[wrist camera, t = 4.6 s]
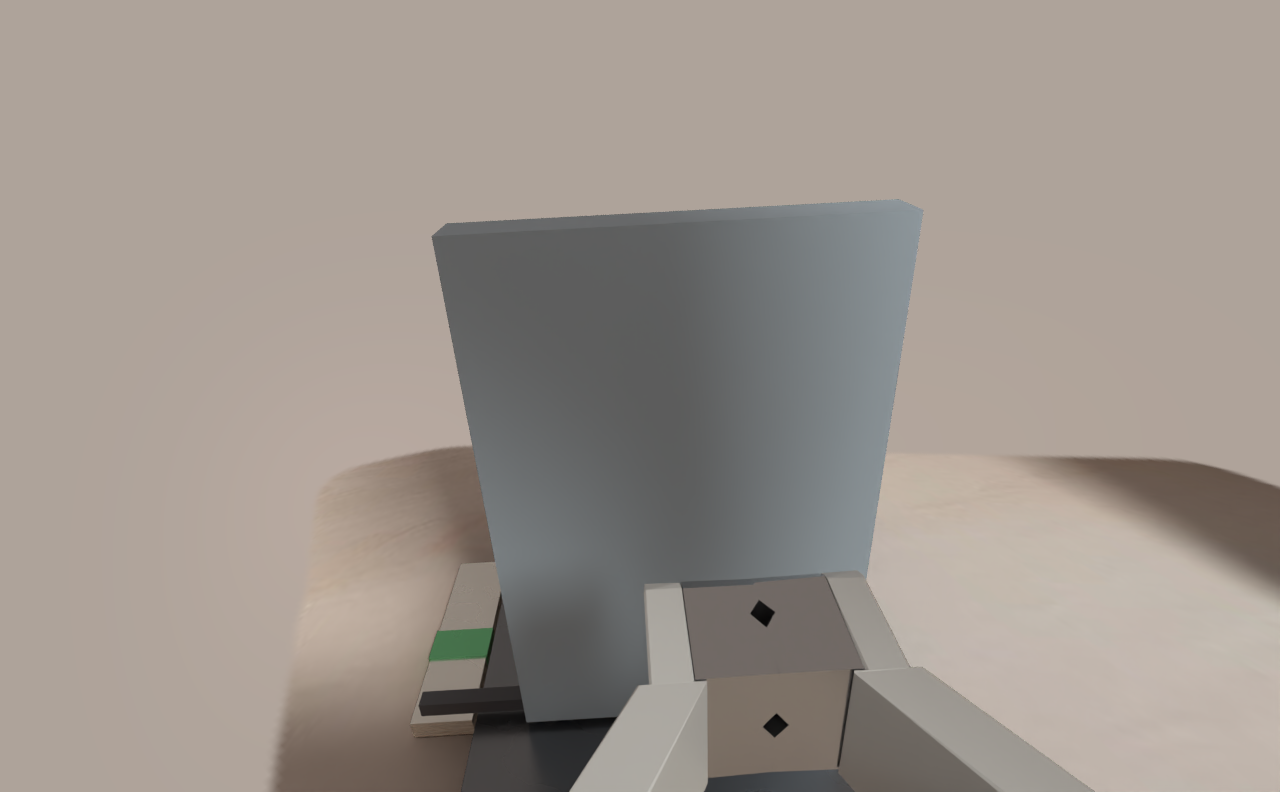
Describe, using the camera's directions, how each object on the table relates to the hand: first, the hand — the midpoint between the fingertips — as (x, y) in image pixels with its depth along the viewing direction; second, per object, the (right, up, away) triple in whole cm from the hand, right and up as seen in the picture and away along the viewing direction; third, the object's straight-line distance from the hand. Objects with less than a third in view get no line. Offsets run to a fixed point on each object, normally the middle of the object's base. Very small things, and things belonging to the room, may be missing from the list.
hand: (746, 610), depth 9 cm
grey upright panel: (-2, -9, +15) cm, 17 cm away
